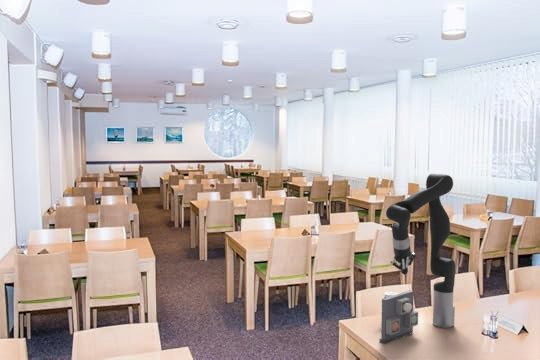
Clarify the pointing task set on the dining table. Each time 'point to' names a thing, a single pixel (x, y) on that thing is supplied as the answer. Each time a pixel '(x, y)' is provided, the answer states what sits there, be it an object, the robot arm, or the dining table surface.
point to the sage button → (413, 319)
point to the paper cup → (389, 294)
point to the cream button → (406, 307)
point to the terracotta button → (395, 326)
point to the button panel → (397, 317)
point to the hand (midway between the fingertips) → (404, 273)
